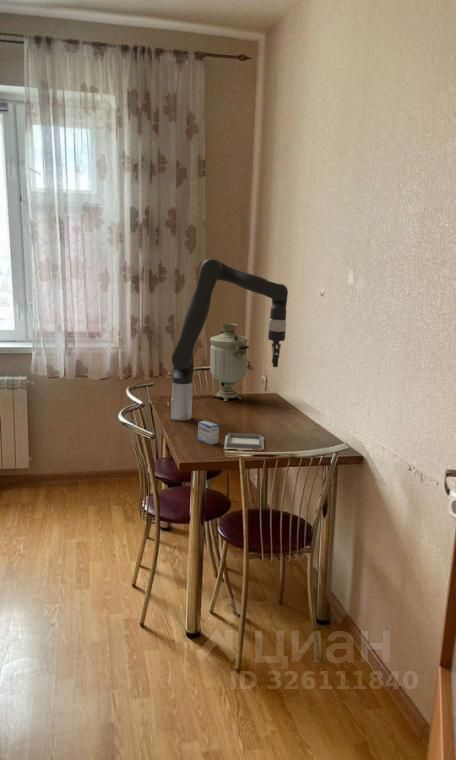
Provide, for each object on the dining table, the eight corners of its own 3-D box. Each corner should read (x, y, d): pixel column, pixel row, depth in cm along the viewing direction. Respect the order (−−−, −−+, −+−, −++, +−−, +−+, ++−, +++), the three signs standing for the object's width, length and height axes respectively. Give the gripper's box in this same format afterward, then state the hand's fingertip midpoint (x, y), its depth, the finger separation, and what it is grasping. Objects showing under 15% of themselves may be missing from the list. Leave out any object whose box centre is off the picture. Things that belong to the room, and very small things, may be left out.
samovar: (264, 404, 317) (268, 328, 308) (216, 406, 310) (218, 328, 301) (246, 391, 345) (249, 320, 336) (201, 392, 337) (203, 320, 329)
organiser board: (223, 451, 242) (223, 444, 242) (225, 438, 259) (226, 431, 258) (263, 453, 242) (264, 446, 241) (263, 439, 258) (263, 433, 258)
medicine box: (197, 442, 252) (197, 421, 250) (204, 439, 256) (205, 420, 254) (210, 446, 247) (211, 426, 245) (218, 444, 250) (219, 424, 248)
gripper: (268, 326, 277) (266, 361, 281) (269, 331, 264) (266, 367, 267) (284, 327, 277) (282, 362, 281) (286, 332, 263) (284, 368, 267)
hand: (274, 365), depth 274 cm, fingers open, 8 cm apart
